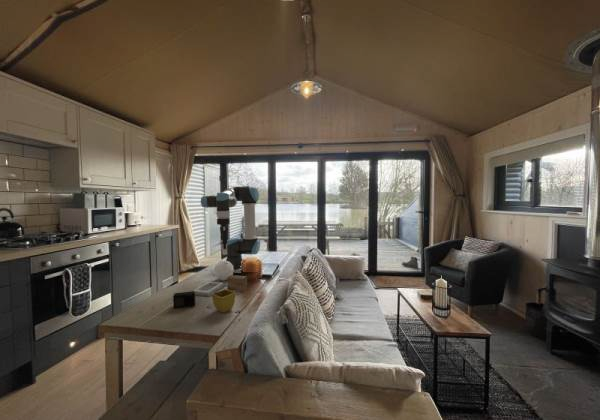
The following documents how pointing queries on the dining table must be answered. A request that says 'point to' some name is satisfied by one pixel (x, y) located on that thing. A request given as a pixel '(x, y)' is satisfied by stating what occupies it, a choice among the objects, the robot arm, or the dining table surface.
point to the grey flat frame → (209, 288)
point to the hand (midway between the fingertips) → (224, 252)
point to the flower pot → (223, 300)
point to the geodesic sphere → (223, 270)
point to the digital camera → (184, 299)
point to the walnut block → (237, 283)
